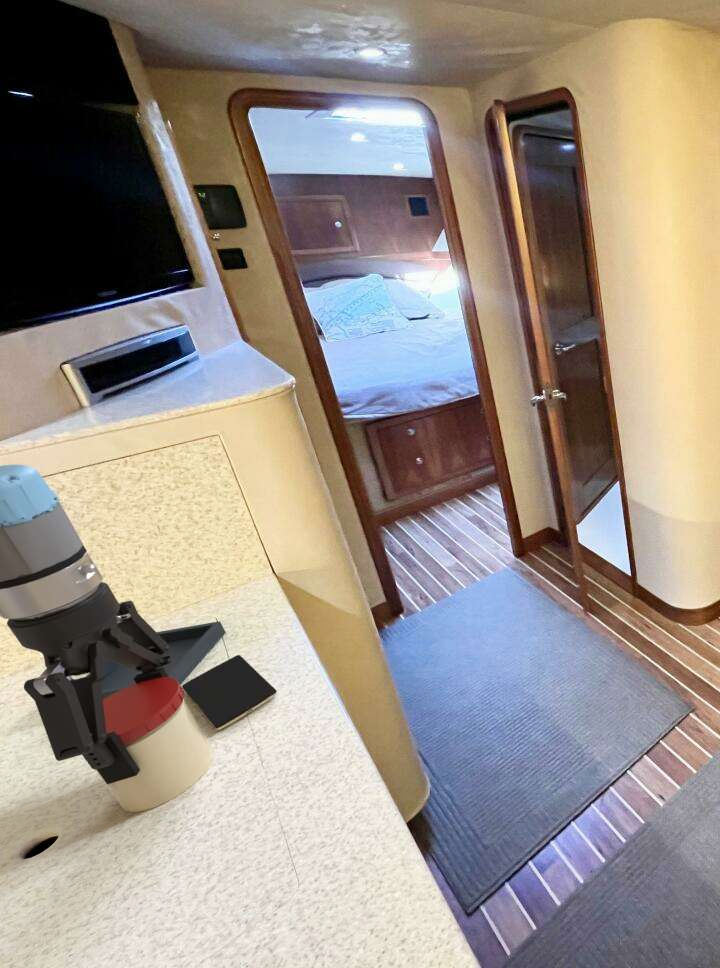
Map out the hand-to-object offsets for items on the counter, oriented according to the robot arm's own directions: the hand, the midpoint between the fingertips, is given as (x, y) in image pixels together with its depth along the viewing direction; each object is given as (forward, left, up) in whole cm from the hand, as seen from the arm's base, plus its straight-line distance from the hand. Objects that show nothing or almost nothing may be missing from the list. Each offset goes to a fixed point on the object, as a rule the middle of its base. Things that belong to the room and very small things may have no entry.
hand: (148, 741), depth 68 cm
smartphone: (0, +13, -7) cm, 15 cm away
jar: (0, 0, -7) cm, 7 cm away
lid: (0, 0, +5) cm, 5 cm away
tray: (-16, +23, -7) cm, 29 cm away
